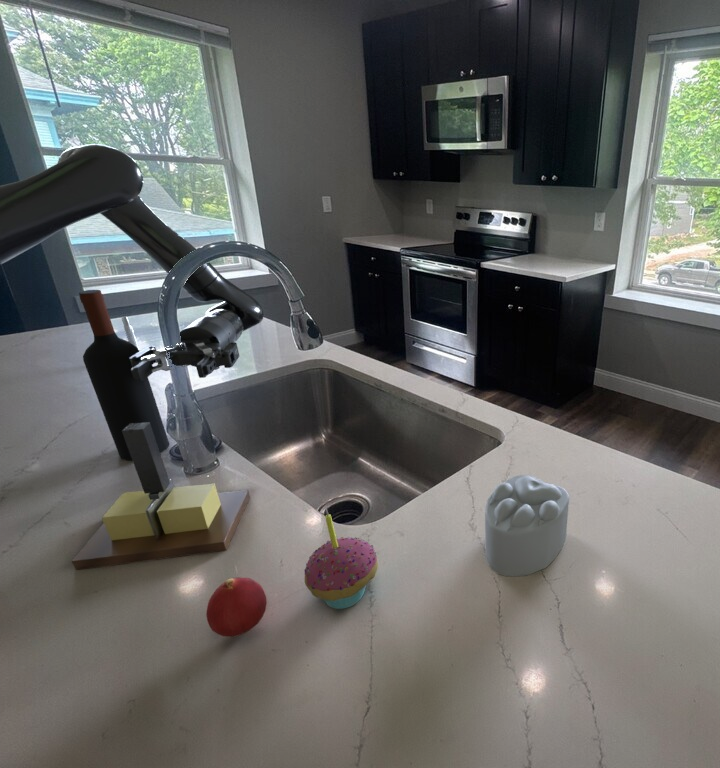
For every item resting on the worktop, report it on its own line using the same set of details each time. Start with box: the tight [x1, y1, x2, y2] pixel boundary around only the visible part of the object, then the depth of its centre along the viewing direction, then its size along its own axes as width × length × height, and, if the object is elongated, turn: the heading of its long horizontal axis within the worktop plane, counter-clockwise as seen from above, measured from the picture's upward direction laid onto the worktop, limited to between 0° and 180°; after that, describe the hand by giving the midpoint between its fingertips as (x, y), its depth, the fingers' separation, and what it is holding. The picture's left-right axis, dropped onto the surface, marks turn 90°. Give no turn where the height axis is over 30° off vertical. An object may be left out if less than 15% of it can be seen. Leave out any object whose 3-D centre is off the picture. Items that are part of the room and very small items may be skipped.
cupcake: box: [304, 508, 379, 610], centre depth 56 cm, size 9×8×12 cm
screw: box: [121, 315, 140, 351], centre depth 124 cm, size 13×5×5 cm
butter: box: [101, 483, 221, 540], centre depth 67 cm, size 12×6×4 cm, turn 103°
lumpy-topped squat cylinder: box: [484, 474, 570, 577], centre depth 66 cm, size 10×13×9 cm
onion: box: [205, 576, 268, 638], centre depth 52 cm, size 6×6×8 cm
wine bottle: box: [78, 289, 170, 462], centre depth 82 cm, size 8×8×30 cm
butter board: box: [71, 489, 251, 571], centre depth 68 cm, size 18×12×2 cm, turn 103°
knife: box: [122, 422, 176, 539], centre depth 65 cm, size 2×8×16 cm, turn 13°
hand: (168, 373), depth 71 cm, fingers open, 8 cm apart
